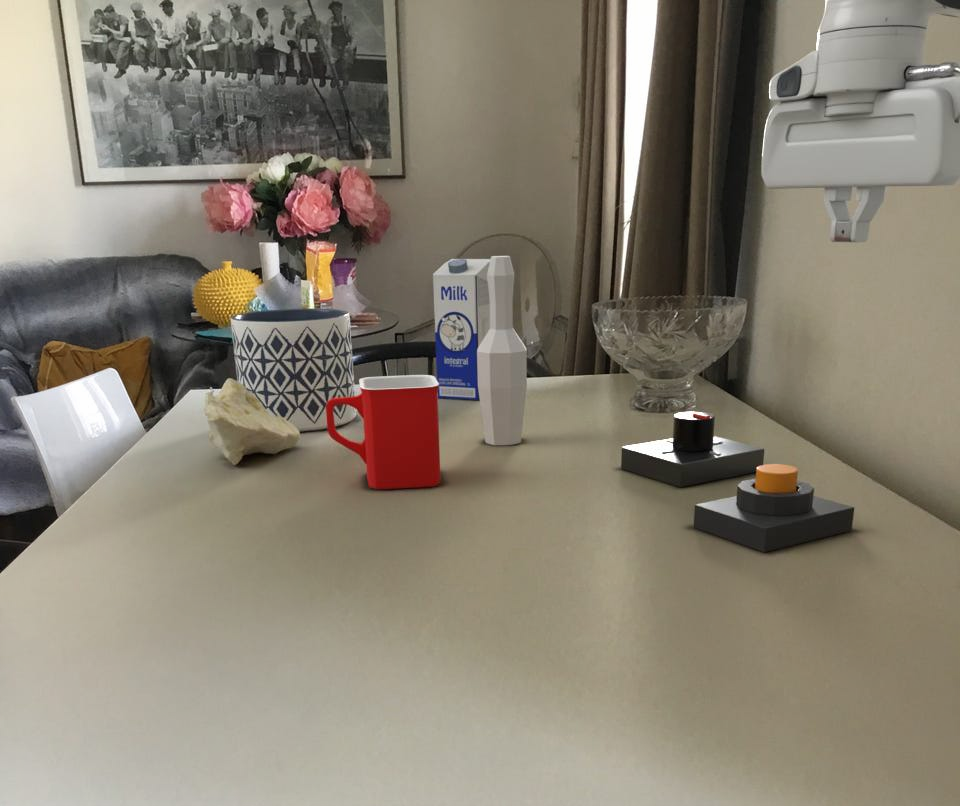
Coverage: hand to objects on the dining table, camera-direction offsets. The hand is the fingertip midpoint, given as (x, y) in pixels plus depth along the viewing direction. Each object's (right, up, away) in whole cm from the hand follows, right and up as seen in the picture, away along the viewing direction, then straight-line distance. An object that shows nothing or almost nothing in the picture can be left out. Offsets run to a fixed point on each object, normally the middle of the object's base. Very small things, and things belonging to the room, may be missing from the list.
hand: (848, 242), depth 97 cm
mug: (-44, -19, +19) cm, 52 cm away
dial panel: (-10, -18, +21) cm, 29 cm away
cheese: (-61, -15, +29) cm, 70 cm away
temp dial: (-10, -15, +20) cm, 27 cm away
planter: (-59, -6, +51) cm, 78 cm away
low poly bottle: (-31, -12, +36) cm, 49 cm away
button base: (-7, -26, 0) cm, 27 cm away
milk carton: (-36, +1, +67) cm, 76 cm away
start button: (-7, -23, -2) cm, 24 cm away
